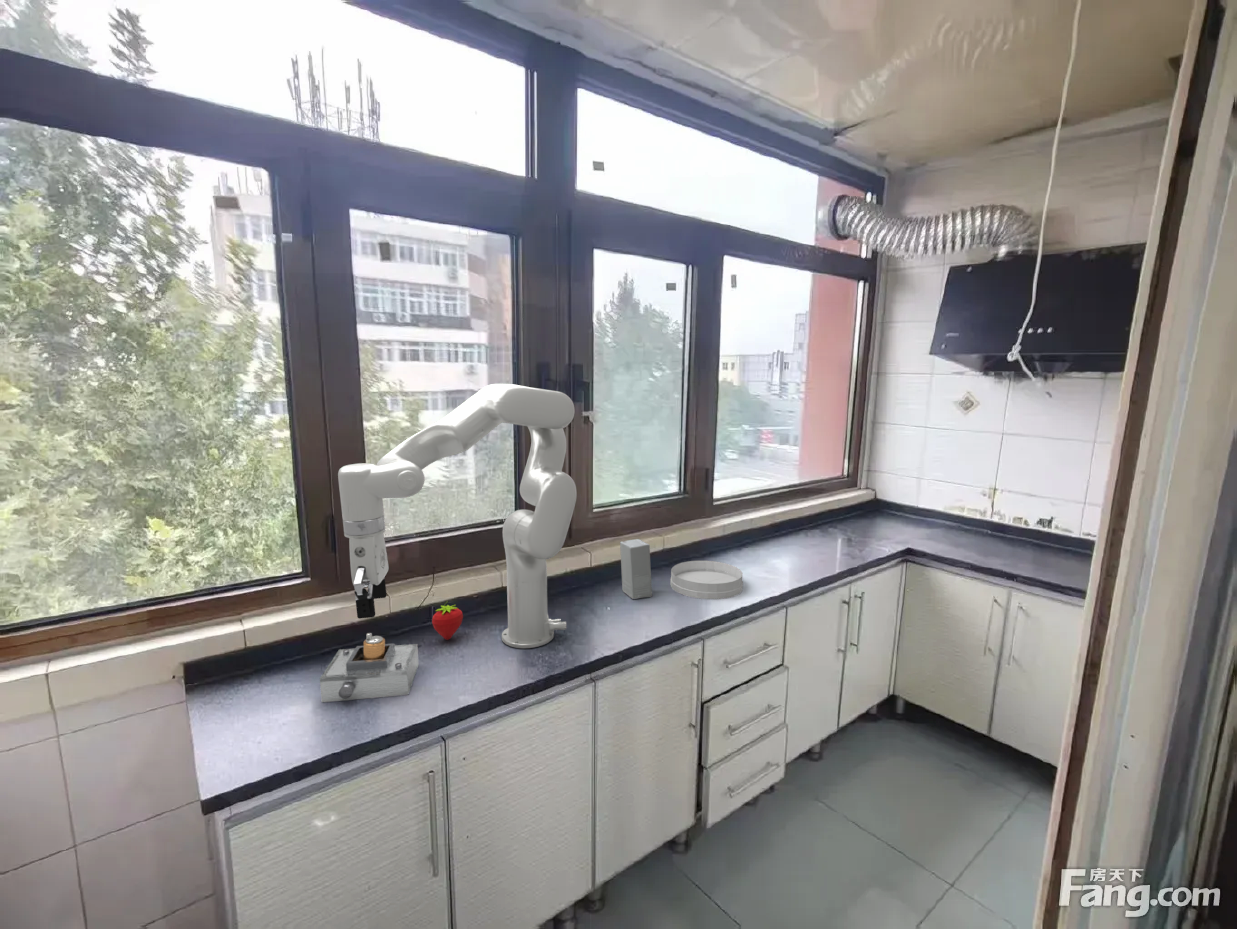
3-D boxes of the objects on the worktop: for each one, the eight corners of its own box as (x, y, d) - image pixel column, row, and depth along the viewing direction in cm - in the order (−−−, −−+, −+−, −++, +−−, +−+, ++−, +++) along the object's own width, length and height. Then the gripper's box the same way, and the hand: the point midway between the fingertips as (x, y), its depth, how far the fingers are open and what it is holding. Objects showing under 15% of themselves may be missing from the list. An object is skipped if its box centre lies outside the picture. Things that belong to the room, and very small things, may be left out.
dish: (705, 570, 189) (705, 556, 188) (757, 589, 171) (758, 573, 171) (655, 584, 175) (655, 569, 174) (707, 606, 158) (708, 589, 157)
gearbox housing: (418, 665, 123) (417, 637, 122) (406, 700, 109) (404, 669, 109) (340, 671, 120) (338, 643, 119) (318, 708, 107) (315, 676, 106)
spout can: (385, 672, 118) (386, 629, 117) (383, 681, 115) (383, 637, 113) (365, 673, 117) (365, 630, 116) (361, 683, 114) (362, 638, 112)
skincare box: (652, 597, 164) (653, 544, 161) (629, 600, 161) (630, 547, 159) (640, 587, 171) (641, 537, 169) (619, 590, 169) (619, 539, 167)
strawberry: (468, 638, 136) (467, 599, 135) (439, 648, 131) (437, 607, 130) (457, 631, 140) (455, 592, 139) (428, 640, 135) (426, 600, 134)
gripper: (373, 536, 104) (382, 623, 106) (393, 514, 120) (400, 589, 123) (330, 539, 102) (340, 627, 105) (356, 516, 119) (364, 593, 122)
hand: (372, 607), depth 114 cm, fingers open, 9 cm apart
